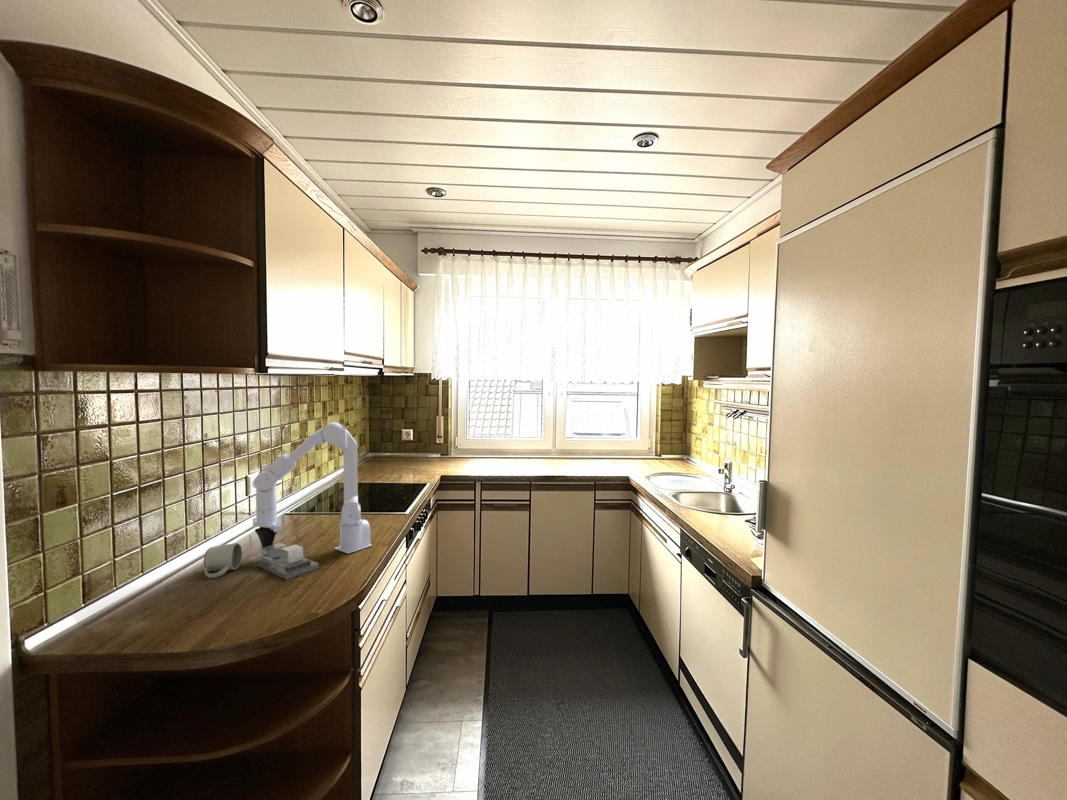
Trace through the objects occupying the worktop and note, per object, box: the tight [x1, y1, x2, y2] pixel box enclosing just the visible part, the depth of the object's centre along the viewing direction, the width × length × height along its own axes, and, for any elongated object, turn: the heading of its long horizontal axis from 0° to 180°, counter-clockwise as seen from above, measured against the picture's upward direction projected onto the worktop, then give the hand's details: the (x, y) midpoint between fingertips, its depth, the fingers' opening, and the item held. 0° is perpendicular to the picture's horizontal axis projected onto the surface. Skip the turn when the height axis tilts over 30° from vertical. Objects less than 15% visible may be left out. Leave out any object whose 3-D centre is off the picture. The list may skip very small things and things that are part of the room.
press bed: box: [255, 553, 320, 580], centre depth 144 cm, size 10×20×3 cm, turn 55°
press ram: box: [260, 542, 288, 559], centre depth 148 cm, size 6×4×3 cm, turn 145°
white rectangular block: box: [281, 543, 304, 567], centre depth 142 cm, size 4×4×5 cm
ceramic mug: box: [203, 542, 243, 579], centre depth 140 cm, size 11×8×8 cm
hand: (267, 549), depth 151 cm, fingers closed
